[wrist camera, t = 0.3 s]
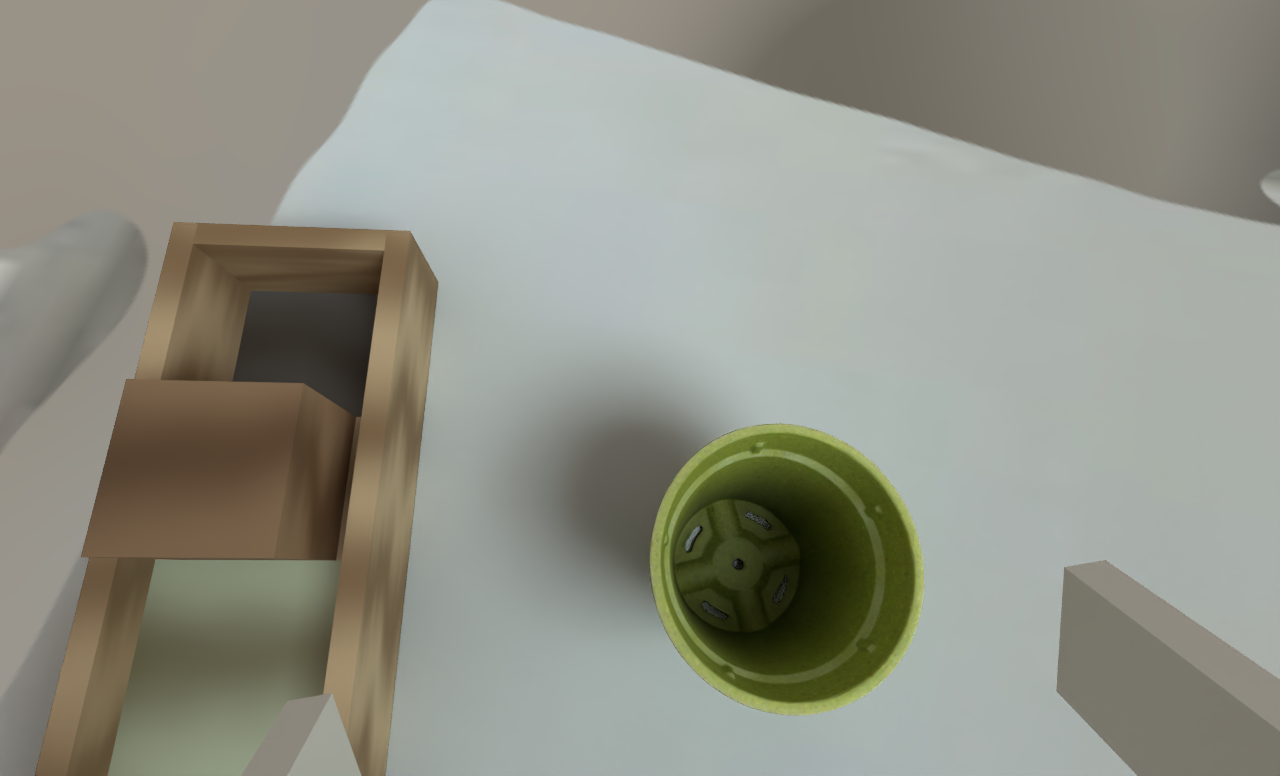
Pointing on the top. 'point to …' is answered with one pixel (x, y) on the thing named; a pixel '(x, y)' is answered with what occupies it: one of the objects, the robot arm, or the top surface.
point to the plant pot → (787, 569)
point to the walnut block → (222, 473)
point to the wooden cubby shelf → (262, 589)
